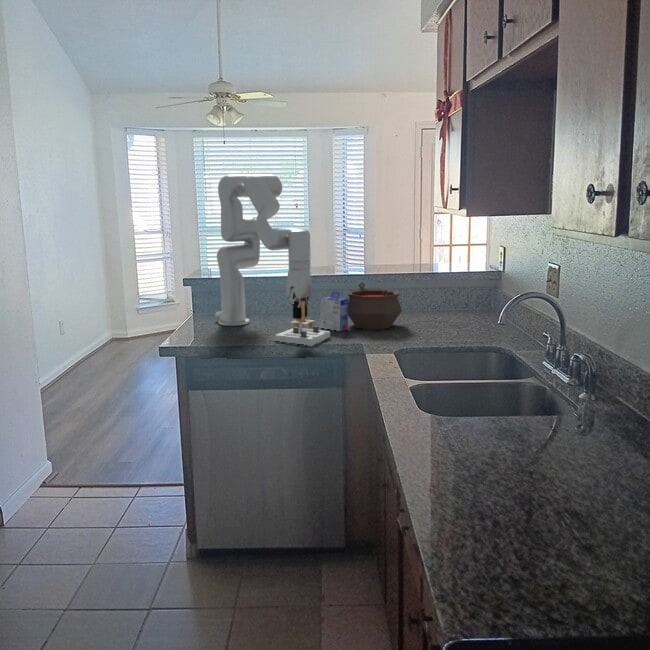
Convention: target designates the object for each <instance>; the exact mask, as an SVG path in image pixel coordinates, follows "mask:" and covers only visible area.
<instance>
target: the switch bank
mask: <svg viewBox="0 0 650 650" xmlns="http://www.w3.org/2000/svg"><path fill="white" fill-rule="evenodd" d="M302 331H307V336H309V337H308V338H304V337H298V336H301V335H300V334H298V333H290V332H293V328H292V329H287V330H285V331H282V332H279V333H277V334H275V335H274V342H275V341H280V342H279V343H281V342H289V343H298V344H304V345H303V346H305V345H307V347H313V346H316V345H317V344H316V343H318V342H320V341H322V340H325V339H327V338H329V337H330V338H331V330H323V329H322V330H321V329H319V331H321V332H320V333H317V332H310V331H313V329H304V328H302ZM330 338H329V339H330ZM327 340H328V339H327ZM325 341H326V340H325ZM322 342H323V341H322ZM289 343H288V344H289ZM320 343H321V342H320ZM315 344H316V345H315ZM318 344H319V343H318Z"/></svg>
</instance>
